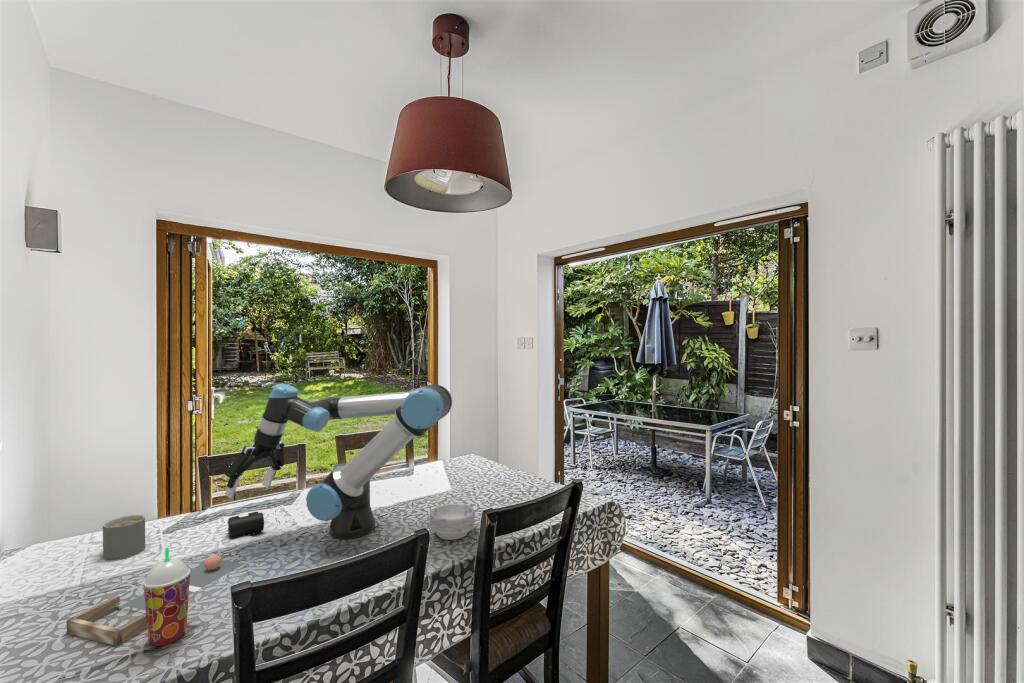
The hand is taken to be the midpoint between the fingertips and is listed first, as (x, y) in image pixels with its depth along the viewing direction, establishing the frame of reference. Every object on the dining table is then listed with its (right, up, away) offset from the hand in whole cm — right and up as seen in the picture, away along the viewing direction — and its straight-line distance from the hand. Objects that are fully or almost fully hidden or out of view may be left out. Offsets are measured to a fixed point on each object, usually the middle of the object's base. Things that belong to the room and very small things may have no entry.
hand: (248, 491), depth 143 cm
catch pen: (-6, -18, -41) cm, 45 cm away
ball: (+1, -16, -18) cm, 24 cm away
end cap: (-5, -18, +7) cm, 20 cm away
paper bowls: (+66, -17, +6) cm, 68 cm away
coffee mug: (-37, -18, -4) cm, 41 cm away
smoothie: (+9, -18, -45) cm, 49 cm away
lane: (-1, -17, -24) cm, 30 cm away
